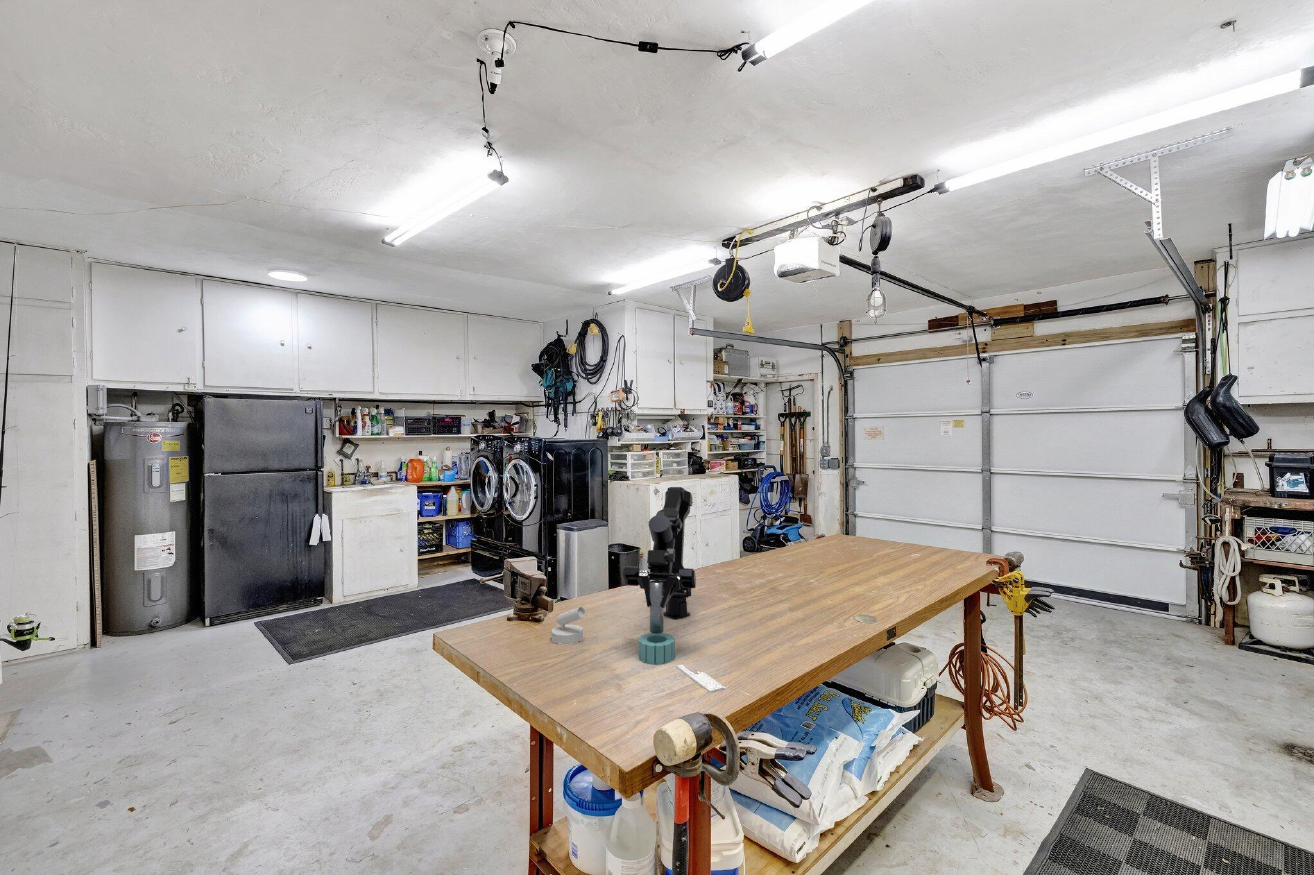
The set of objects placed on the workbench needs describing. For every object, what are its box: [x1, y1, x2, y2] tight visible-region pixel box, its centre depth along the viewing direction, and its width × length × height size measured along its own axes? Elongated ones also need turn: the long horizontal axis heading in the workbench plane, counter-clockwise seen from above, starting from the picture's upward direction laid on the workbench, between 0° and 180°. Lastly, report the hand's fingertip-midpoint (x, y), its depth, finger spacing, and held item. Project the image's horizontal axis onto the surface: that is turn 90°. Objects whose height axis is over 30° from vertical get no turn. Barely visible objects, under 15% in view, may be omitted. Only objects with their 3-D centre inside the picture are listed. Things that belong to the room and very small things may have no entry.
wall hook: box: [551, 606, 586, 645], centre depth 153 cm, size 9×10×10 cm
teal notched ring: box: [638, 632, 676, 665], centre depth 140 cm, size 9×9×4 cm
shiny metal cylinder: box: [649, 580, 665, 634], centre depth 140 cm, size 4×4×12 cm
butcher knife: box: [676, 664, 727, 694], centre depth 128 cm, size 5×15×1 cm, turn 27°
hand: (655, 606), depth 139 cm, fingers closed on shiny metal cylinder, 3 cm apart
